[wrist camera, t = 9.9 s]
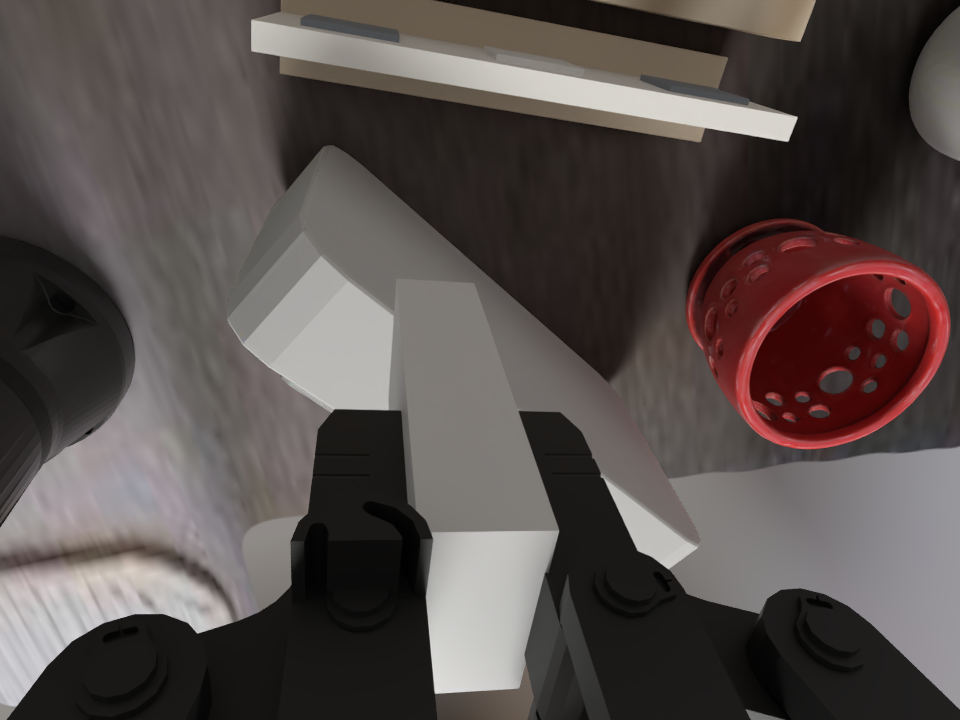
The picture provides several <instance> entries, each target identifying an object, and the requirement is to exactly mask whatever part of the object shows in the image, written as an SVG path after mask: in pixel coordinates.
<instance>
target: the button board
mask: <svg viewBox="0 0 960 720" xmlns="http://www.w3.org/2000/svg"><path fill="white" fill-rule="evenodd" d="M589 1H594V2H599V3H604V4H609V5H614V6H619V7H623V8H628V9H633V10H638V11H643V12H648V13H653V14H658V15H663V16H668V17H672V18H677V19H682V20H687V21H692V22H697V23H702V24H707V25H712V26H717V27H721V28H726V29H731V30H736V31H741V32H746V33H751V34H756V35H761V36H766V37H770V38H776V39H783V40H791V41H798V42H801V39H802V36H803V34H804V31H805V28H806V26H807V23H808V20H809V17H810V15H811V12H812V9H813V7H814V4H815V1H816V0H589Z"/></svg>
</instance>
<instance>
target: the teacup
mask: <svg viewBox="0 0 960 720" xmlns="http://www.w3.org/2000/svg"><path fill="white" fill-rule="evenodd" d="M909 109H910V114H911V118H912V121H913V123H914V125H915V127H916V129H917V131H918V133H919V134H920V135H921V137H922V138H923V139H924V140H925V141H926V142H927V143H928V144H929V145H930V146H932V147H933V148H934V149H936V150H937V151H939V152H941V153H943V154H945V155H947V156H949V157H951V158H954V159H956V160H959V161H960V6H959V7H958V8H957V9H956V10H954V11H953V12H952V13H951V14H950V15H949V16H948V17H947V18H946V19H945V20H944V21H943V22H942V23H941V24H940V26H939V27H938V28H937V29H936V30H935V31H934V33H933V34H932V36H931V37H930V39H929V40H928V41H927V43H926V44H925V46H924V48H923V50H922V51H921V53H920V55H919V58H918V60H917V62H916V65H915V68H914V71H913V74H912V78H911V82H910V89H909Z"/></svg>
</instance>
